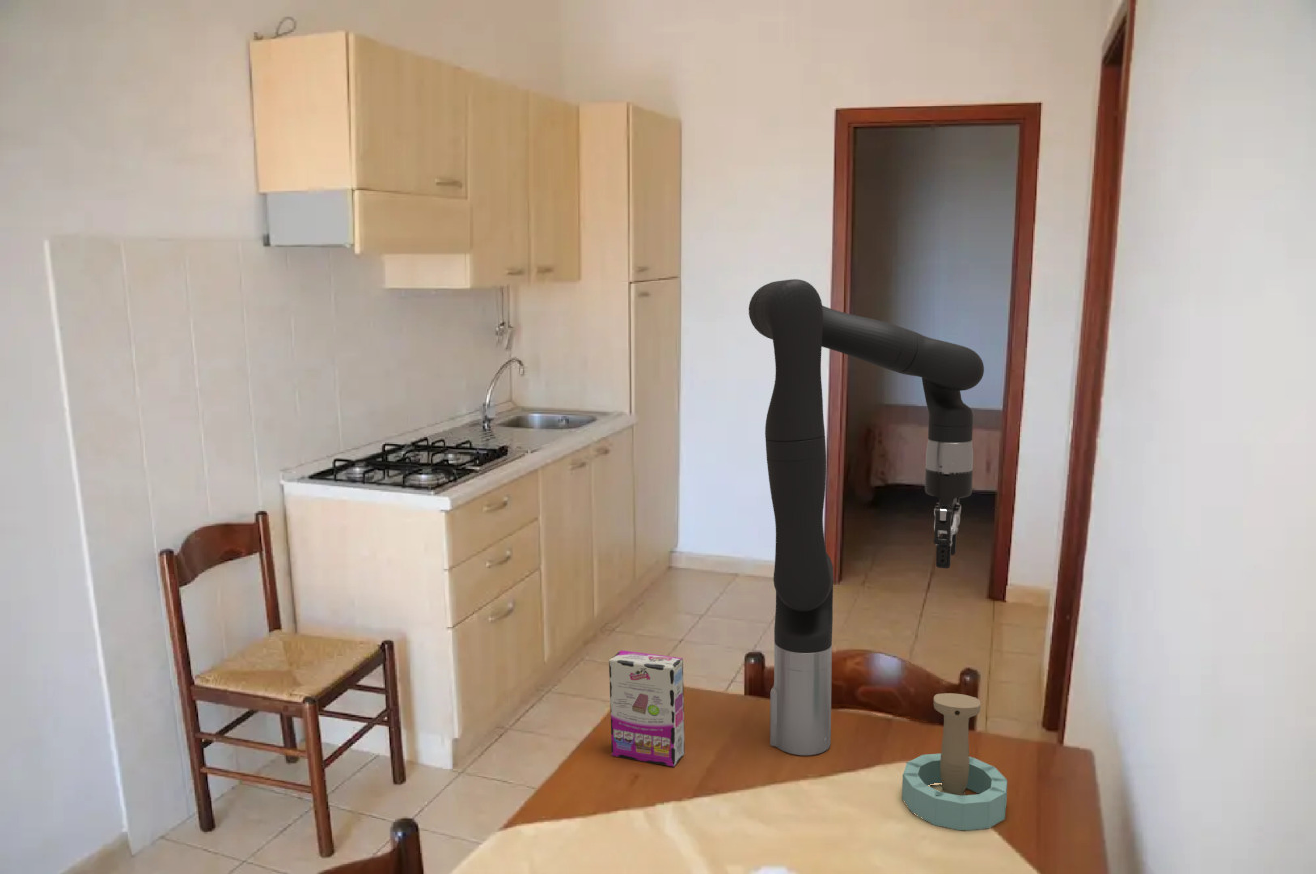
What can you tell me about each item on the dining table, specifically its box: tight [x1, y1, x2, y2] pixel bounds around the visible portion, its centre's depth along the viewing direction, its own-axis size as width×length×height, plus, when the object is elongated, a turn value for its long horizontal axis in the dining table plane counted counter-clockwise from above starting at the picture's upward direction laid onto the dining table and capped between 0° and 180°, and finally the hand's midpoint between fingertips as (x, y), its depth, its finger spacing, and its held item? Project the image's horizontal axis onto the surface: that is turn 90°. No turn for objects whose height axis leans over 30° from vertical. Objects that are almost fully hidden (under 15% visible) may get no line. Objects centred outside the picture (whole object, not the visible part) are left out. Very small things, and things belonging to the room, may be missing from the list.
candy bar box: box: [608, 649, 686, 767], centre depth 151 cm, size 11×5×16 cm, turn 68°
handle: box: [933, 692, 981, 796], centre depth 137 cm, size 5×6×15 cm
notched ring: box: [901, 752, 1008, 831], centre depth 137 cm, size 14×14×4 cm
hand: (946, 560), depth 160 cm, fingers open, 8 cm apart
